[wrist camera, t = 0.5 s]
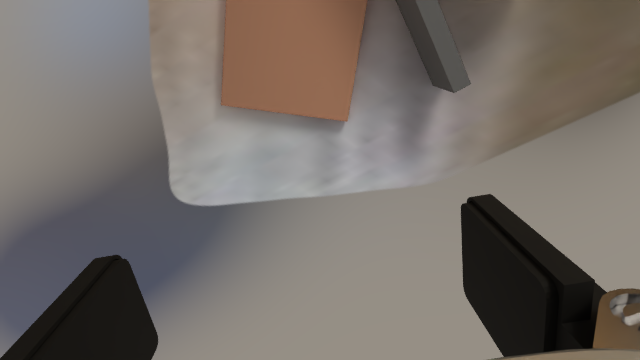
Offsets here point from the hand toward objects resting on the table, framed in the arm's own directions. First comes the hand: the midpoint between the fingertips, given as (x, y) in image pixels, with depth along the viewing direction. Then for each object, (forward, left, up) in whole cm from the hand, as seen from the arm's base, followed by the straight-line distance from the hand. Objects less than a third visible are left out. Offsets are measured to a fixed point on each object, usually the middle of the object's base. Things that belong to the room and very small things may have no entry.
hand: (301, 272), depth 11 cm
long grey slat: (-11, +7, -28) cm, 31 cm away
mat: (-5, -1, -28) cm, 29 cm away
